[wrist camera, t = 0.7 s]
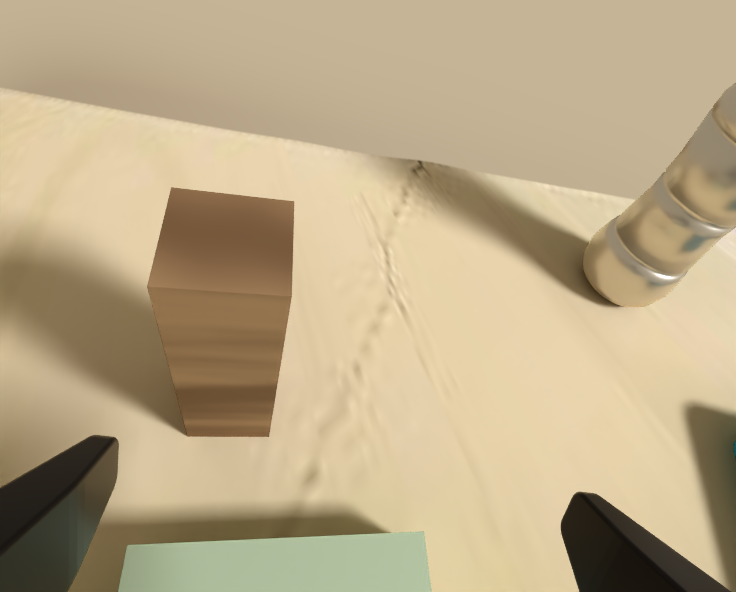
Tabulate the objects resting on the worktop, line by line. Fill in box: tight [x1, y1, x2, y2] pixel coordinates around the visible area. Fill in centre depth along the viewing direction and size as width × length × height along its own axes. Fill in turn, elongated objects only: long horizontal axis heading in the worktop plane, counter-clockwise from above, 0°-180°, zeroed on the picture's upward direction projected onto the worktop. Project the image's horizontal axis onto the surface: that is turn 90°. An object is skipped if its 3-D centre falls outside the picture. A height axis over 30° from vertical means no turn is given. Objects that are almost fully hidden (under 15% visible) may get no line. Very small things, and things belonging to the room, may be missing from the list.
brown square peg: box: [147, 188, 294, 437], centre depth 20 cm, size 4×4×13 cm
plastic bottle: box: [583, 83, 736, 307], centre depth 29 cm, size 6×7×20 cm
